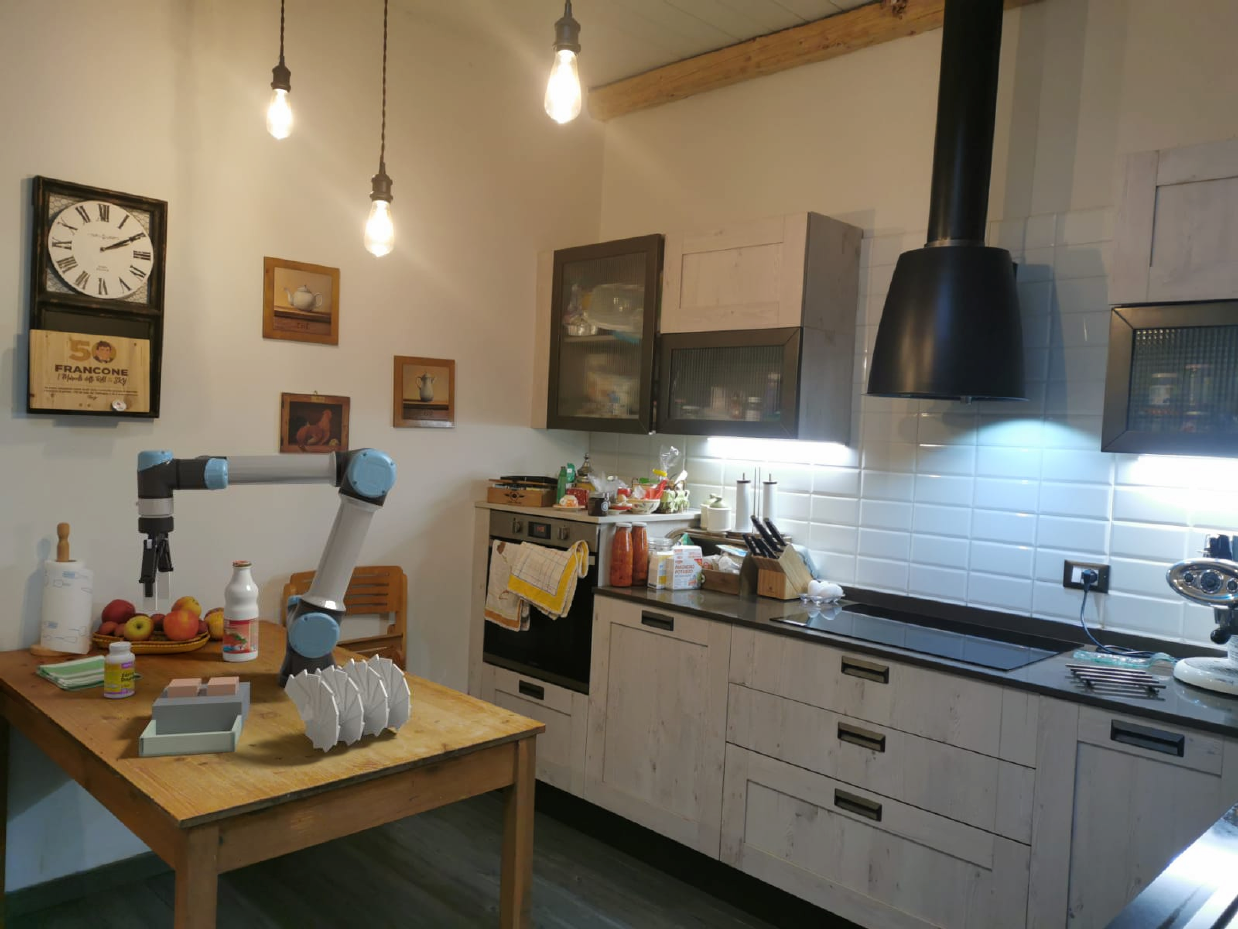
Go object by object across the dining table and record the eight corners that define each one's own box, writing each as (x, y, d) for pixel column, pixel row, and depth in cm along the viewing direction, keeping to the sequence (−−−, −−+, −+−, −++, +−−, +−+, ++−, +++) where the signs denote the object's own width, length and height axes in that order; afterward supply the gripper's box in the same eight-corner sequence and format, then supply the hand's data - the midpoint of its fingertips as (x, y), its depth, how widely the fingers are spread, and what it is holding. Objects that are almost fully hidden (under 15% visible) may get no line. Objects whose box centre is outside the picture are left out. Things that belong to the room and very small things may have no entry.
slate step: (249, 711, 215) (250, 682, 215) (241, 733, 200) (241, 701, 200) (166, 715, 210) (166, 685, 210) (151, 738, 195) (152, 706, 195)
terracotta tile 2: (201, 688, 208) (201, 678, 208) (196, 696, 202) (197, 685, 202) (172, 690, 206) (173, 679, 206) (167, 698, 201) (167, 686, 201)
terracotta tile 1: (238, 687, 210) (239, 676, 210) (235, 695, 205) (235, 684, 204) (210, 688, 209) (211, 677, 209) (206, 696, 203) (206, 685, 203)
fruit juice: (264, 658, 262) (266, 562, 260) (233, 664, 254) (234, 565, 253) (247, 652, 267) (248, 558, 266) (216, 658, 260) (217, 561, 259)
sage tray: (241, 733, 200) (241, 715, 200) (234, 751, 189) (234, 732, 189) (151, 738, 195) (151, 719, 195) (139, 757, 184) (139, 738, 184)
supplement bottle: (121, 700, 220) (121, 648, 219) (97, 698, 221) (97, 645, 220) (140, 692, 226) (141, 641, 226) (117, 690, 227) (118, 639, 227)
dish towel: (66, 694, 224) (67, 683, 224) (32, 675, 239) (32, 665, 239) (141, 680, 238) (141, 670, 238) (105, 663, 253) (105, 653, 253)
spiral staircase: (408, 748, 206) (312, 774, 186) (367, 700, 215) (271, 719, 195) (436, 683, 201) (340, 702, 181) (393, 636, 210) (297, 650, 191)
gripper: (151, 510, 224) (152, 595, 226) (123, 522, 200) (125, 616, 201) (184, 510, 226) (185, 594, 227) (161, 521, 202) (162, 615, 203)
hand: (157, 604), depth 214 cm, fingers open, 13 cm apart
